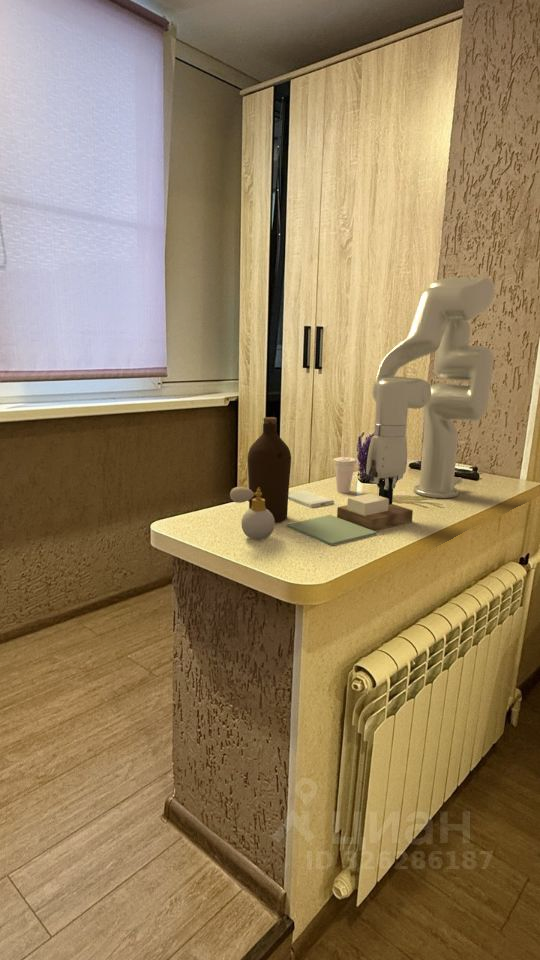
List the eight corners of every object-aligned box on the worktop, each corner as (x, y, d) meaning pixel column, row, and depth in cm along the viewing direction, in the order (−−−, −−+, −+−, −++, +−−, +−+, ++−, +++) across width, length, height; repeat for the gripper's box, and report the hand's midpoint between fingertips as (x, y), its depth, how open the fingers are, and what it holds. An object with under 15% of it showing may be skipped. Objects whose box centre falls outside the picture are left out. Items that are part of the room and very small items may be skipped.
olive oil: (297, 516, 151) (300, 417, 145) (275, 527, 142) (278, 422, 136) (261, 509, 156) (262, 413, 150) (238, 519, 147) (239, 418, 141)
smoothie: (327, 491, 176) (329, 444, 172) (340, 487, 180) (343, 441, 177) (345, 495, 172) (348, 447, 168) (358, 491, 176) (361, 444, 173)
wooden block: (376, 510, 158) (377, 499, 157) (411, 521, 148) (412, 510, 148) (337, 518, 150) (337, 507, 149) (372, 531, 140) (372, 519, 139)
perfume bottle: (281, 539, 134) (282, 487, 131) (245, 548, 128) (245, 493, 125) (261, 530, 139) (262, 480, 137) (226, 538, 134) (226, 486, 131)
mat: (330, 517, 151) (330, 514, 151) (376, 534, 138) (376, 531, 138) (286, 526, 143) (286, 524, 142) (331, 545, 130) (331, 543, 130)
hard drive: (282, 493, 168) (310, 503, 158) (305, 489, 173) (334, 499, 163) (282, 499, 168) (310, 509, 159) (305, 495, 173) (334, 505, 163)
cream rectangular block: (370, 504, 151) (371, 493, 151) (388, 510, 147) (388, 498, 146) (347, 509, 147) (347, 497, 146) (364, 515, 142) (365, 503, 141)
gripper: (399, 426, 153) (394, 496, 157) (357, 431, 144) (352, 504, 149) (422, 430, 147) (416, 502, 151) (380, 435, 138) (375, 512, 143)
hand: (385, 503), depth 150 cm, fingers closed
